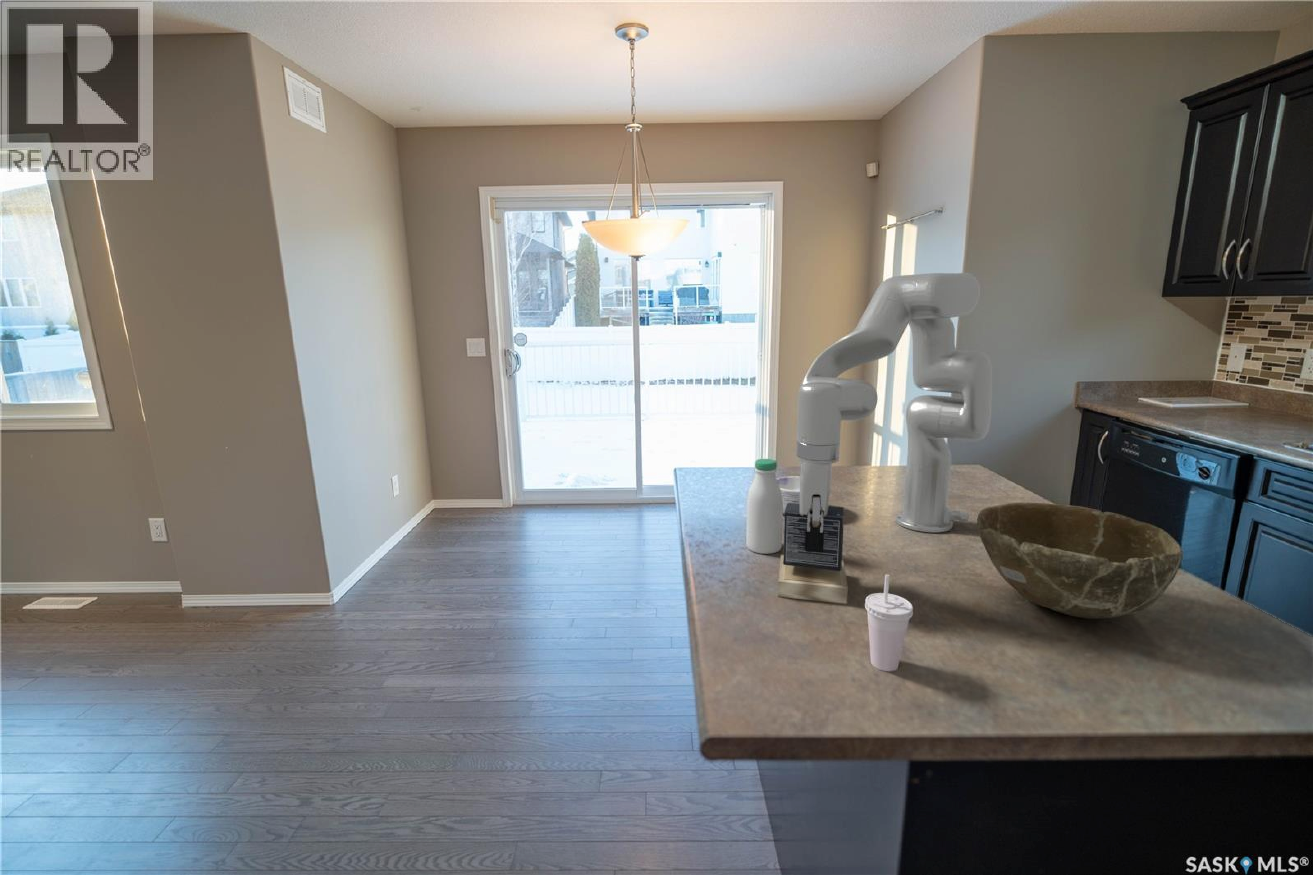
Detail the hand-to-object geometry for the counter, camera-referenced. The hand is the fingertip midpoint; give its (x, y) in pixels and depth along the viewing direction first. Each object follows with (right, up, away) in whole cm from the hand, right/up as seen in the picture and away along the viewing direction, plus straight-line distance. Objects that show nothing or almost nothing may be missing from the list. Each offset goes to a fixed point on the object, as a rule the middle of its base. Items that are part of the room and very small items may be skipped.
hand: (813, 543), depth 104 cm
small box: (0, -4, +1) cm, 4 cm away
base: (0, -8, +2) cm, 8 cm away
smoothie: (+4, -14, -22) cm, 27 cm away
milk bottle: (-6, -5, +19) cm, 21 cm away
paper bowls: (+8, 0, +42) cm, 43 cm away
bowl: (+41, -10, -8) cm, 43 cm away
